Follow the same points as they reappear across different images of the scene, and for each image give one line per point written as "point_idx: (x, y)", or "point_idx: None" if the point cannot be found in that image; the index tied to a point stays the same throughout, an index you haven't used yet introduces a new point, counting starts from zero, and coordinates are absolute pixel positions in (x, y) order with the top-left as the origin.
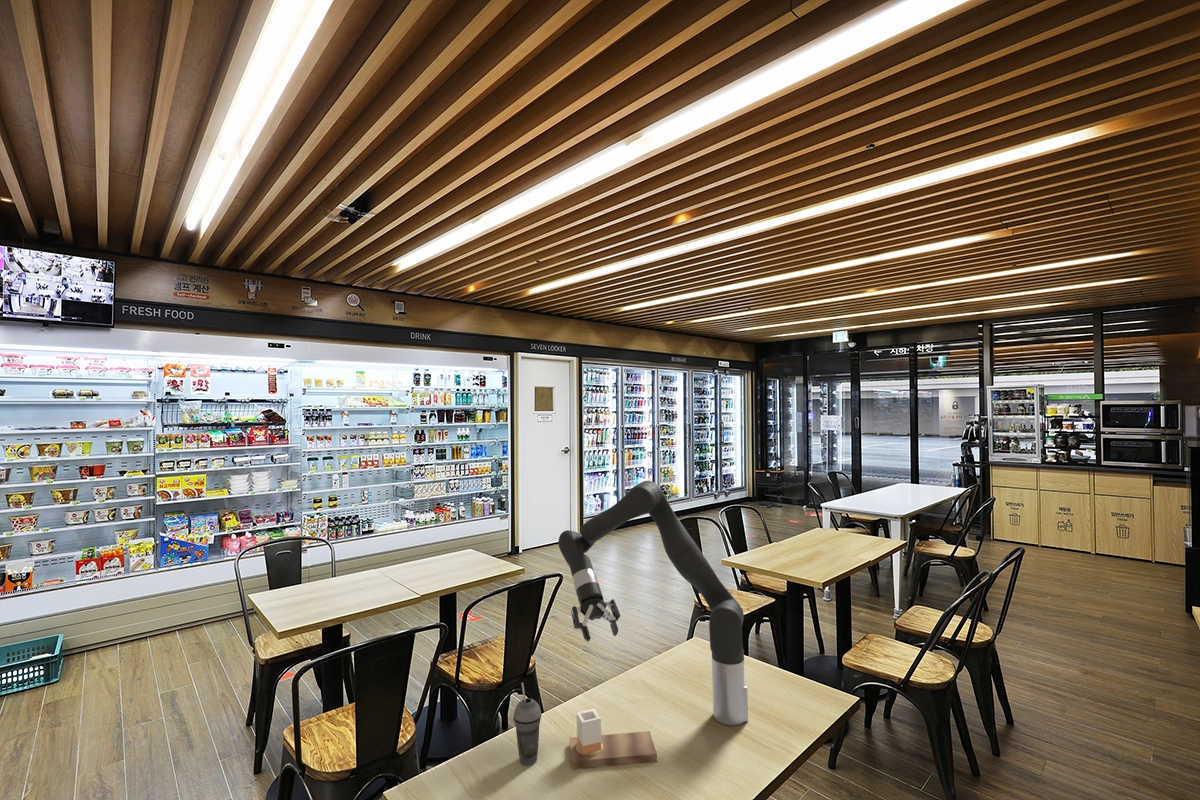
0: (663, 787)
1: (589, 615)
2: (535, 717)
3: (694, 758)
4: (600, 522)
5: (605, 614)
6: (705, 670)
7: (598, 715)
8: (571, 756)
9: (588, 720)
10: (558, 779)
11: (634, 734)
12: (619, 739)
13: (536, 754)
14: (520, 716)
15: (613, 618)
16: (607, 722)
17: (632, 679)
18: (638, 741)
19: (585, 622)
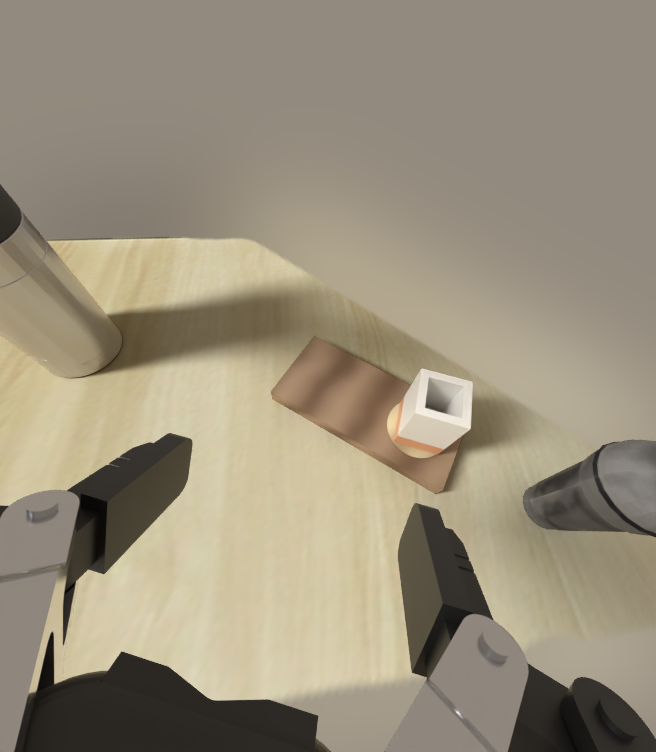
0: (348, 304)
1: (402, 740)
2: (623, 441)
3: (257, 315)
4: None
5: (54, 626)
6: None
7: (420, 381)
8: None
9: (454, 380)
10: (495, 414)
11: (305, 402)
12: (344, 409)
13: (538, 482)
14: None
15: (50, 504)
16: (303, 515)
17: None
18: (316, 380)
19: (473, 660)
